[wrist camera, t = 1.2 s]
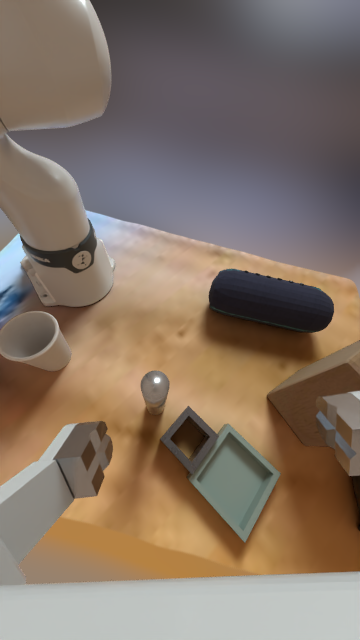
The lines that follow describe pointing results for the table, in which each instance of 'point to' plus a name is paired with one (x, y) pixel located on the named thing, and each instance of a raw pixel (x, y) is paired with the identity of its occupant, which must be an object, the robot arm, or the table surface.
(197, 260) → the table surface
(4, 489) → the robot arm
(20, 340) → the dixie cup
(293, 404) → the wooden block
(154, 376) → the steel pin
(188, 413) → the hollow square frame
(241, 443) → the tray
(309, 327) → the portable speaker
